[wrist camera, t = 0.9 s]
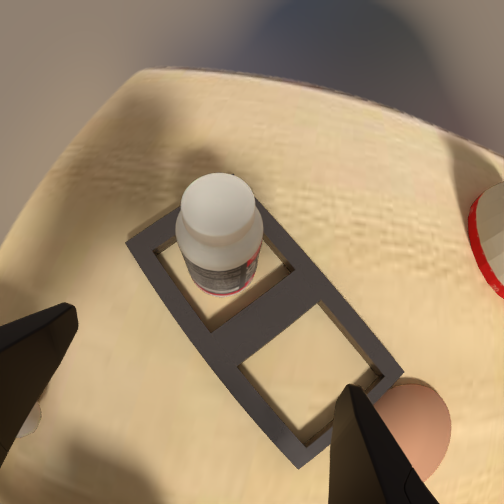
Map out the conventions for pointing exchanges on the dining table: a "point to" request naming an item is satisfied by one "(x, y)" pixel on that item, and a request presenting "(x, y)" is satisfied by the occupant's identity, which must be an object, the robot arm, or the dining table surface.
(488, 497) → the dining table surface
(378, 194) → the dining table surface
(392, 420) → the coaster
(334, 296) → the dark grey flat frame
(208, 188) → the pill bottle
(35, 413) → the donut
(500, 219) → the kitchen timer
